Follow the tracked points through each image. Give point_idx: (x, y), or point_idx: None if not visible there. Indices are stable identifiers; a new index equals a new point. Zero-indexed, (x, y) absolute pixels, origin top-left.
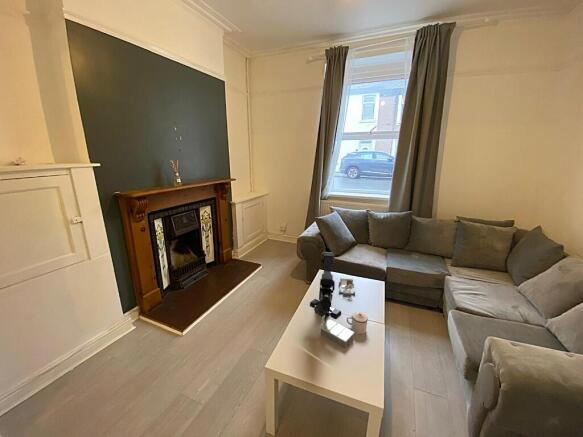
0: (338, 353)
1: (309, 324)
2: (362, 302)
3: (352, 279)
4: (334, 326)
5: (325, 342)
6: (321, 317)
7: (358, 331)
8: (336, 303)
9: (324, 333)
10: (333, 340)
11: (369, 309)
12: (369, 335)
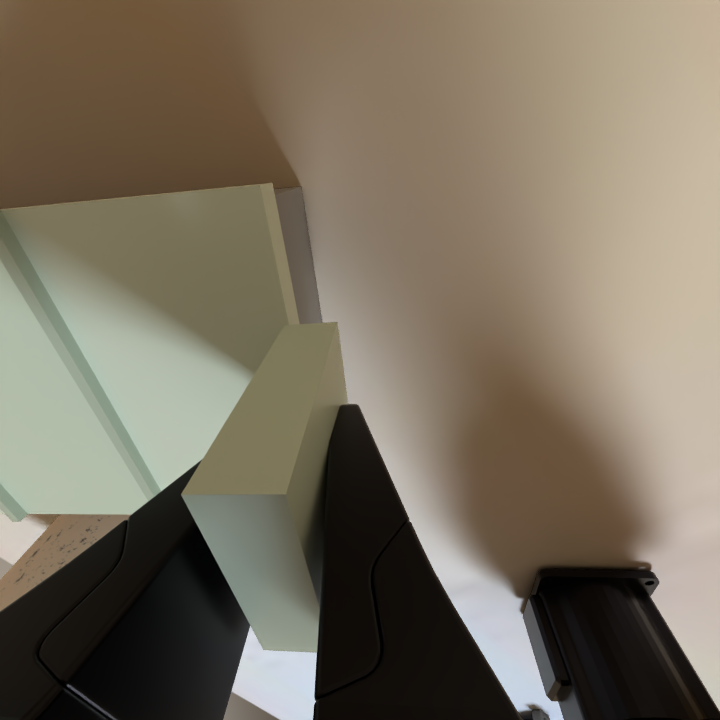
0: None
1: (616, 244)
2: None
3: None
4: (110, 435)
5: (87, 74)
6: (378, 465)
7: (47, 532)
8: (499, 652)
9: None
10: None
11: (276, 684)
12: (38, 536)
